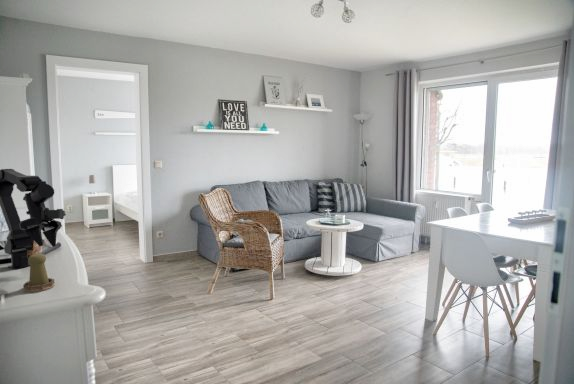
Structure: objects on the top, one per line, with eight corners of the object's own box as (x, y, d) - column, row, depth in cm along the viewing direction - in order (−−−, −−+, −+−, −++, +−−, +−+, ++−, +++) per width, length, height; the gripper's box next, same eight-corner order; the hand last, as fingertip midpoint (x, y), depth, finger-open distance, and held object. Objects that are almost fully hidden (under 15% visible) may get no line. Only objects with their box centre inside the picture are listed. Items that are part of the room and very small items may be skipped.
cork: (35, 289, 136) (33, 257, 134) (25, 286, 138) (22, 255, 137) (53, 283, 141) (50, 253, 140) (42, 281, 144) (39, 251, 142)
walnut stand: (18, 289, 138) (18, 284, 138) (44, 282, 145) (44, 276, 145) (33, 293, 134) (33, 288, 133) (59, 285, 141) (59, 280, 141)
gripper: (44, 196, 145) (56, 237, 143) (69, 203, 164) (80, 239, 162) (13, 207, 144) (25, 248, 142) (41, 212, 162) (52, 249, 161)
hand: (48, 246), depth 152 cm, fingers open, 9 cm apart
